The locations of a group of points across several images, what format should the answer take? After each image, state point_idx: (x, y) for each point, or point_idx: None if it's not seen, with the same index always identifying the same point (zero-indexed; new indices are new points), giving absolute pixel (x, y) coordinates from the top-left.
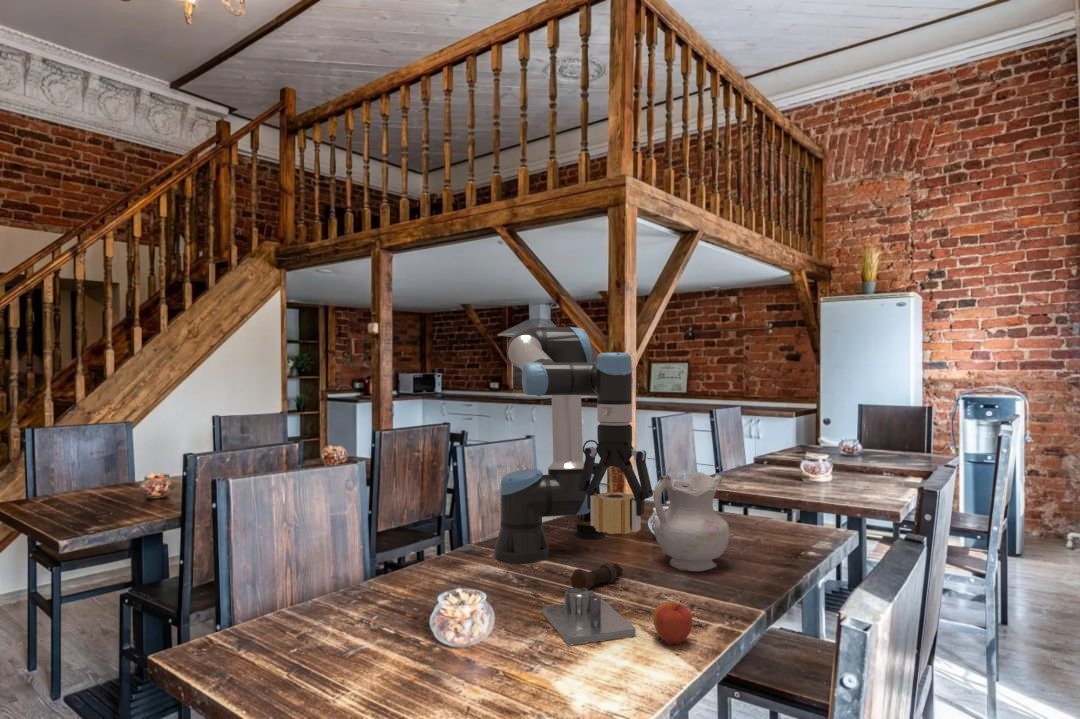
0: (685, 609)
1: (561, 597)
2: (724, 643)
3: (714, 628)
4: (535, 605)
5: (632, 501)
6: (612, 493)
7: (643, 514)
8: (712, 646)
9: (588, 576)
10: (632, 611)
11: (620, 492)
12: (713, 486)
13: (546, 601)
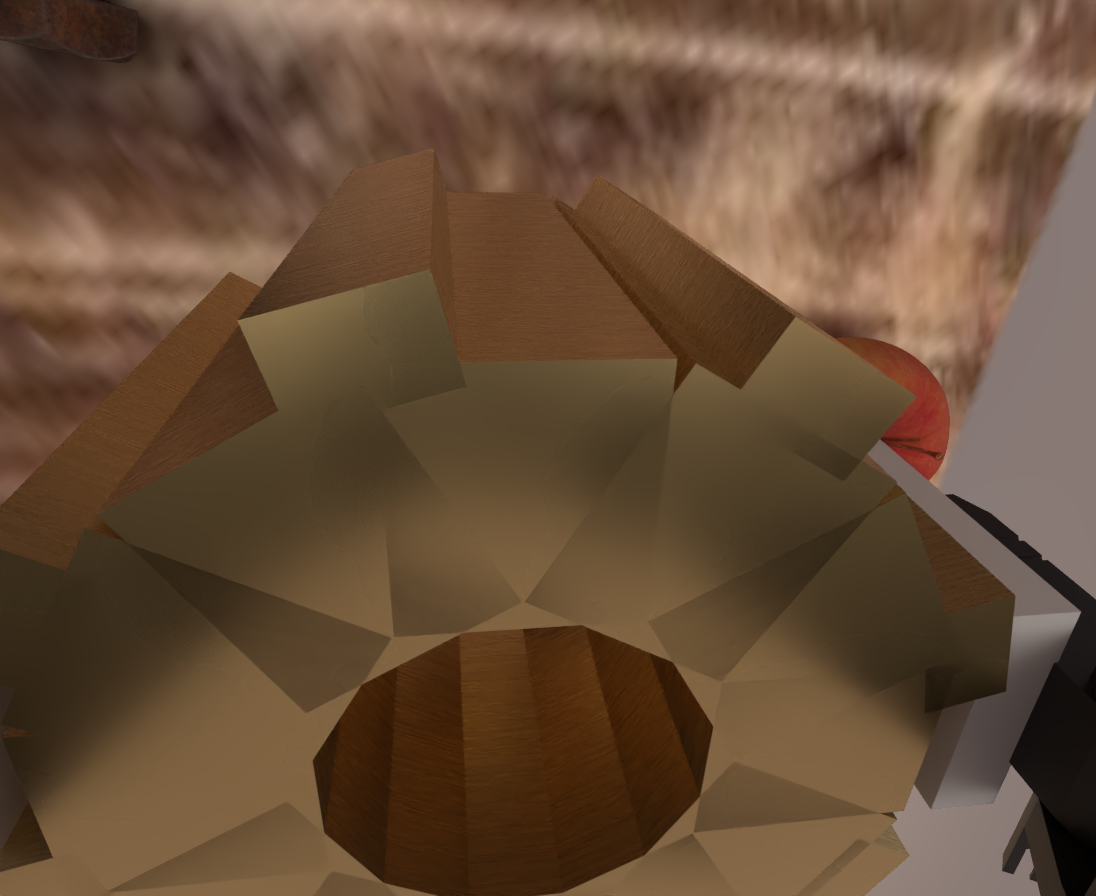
0: (937, 432)
1: (49, 203)
2: (1005, 285)
3: (966, 146)
4: (37, 393)
5: (937, 799)
6: (258, 569)
7: (957, 498)
8: (958, 339)
9: (81, 16)
10: (531, 167)
11: (380, 297)
12: None
13: (34, 311)
